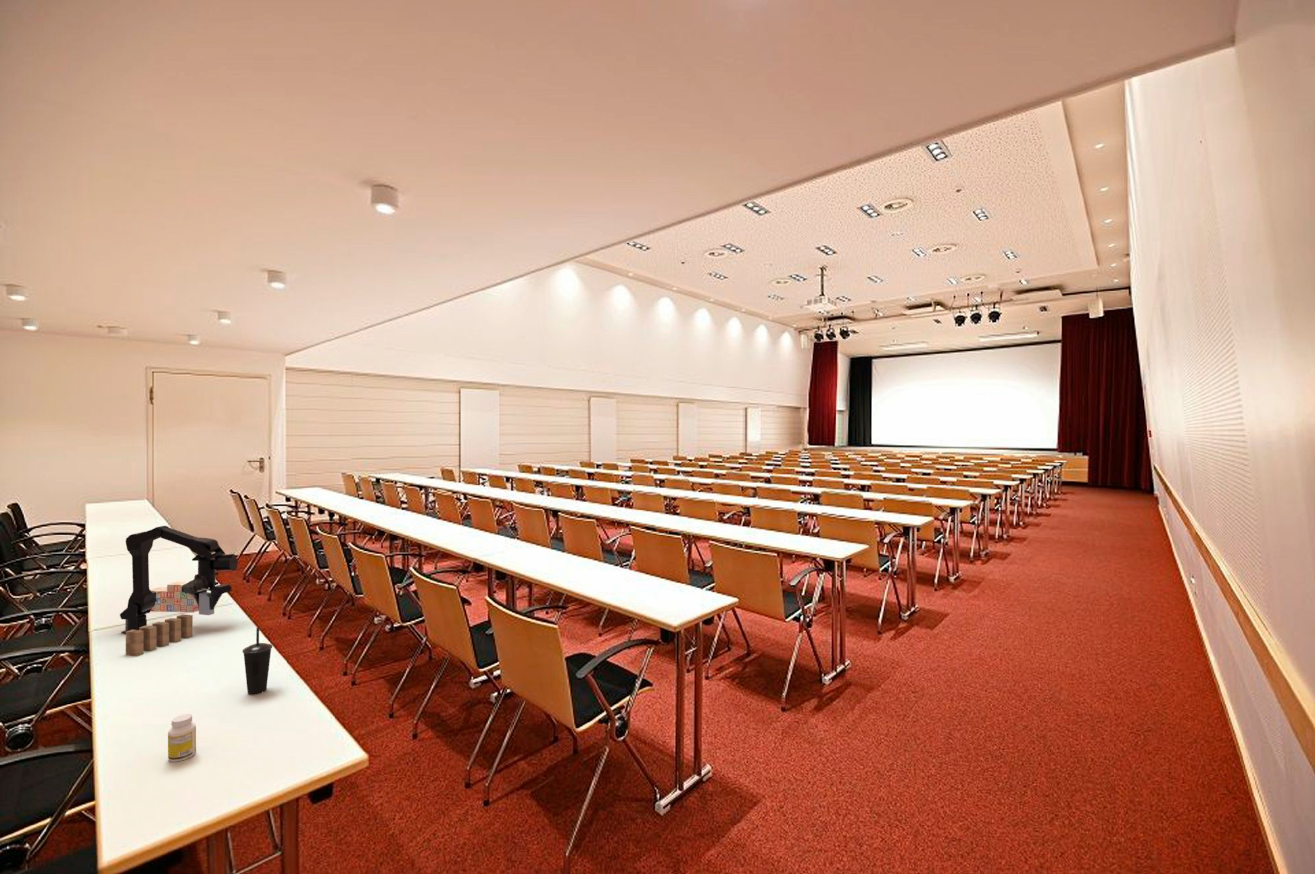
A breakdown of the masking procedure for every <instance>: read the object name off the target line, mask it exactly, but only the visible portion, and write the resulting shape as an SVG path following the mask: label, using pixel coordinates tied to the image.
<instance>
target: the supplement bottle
mask: <svg viewBox="0 0 1315 874" xmlns="http://www.w3.org/2000/svg"><path fill="white" fill-rule="evenodd" d="M170 725H171V727H170V728H169V729H168V731H167V751H168V752H167V759H168V761H169V762H173V763H176V762H181V761H185V760H187V759H190V758H191V757H193V756H194V755H195V754H196V753H197V726H196V724H195V723H194V722H193V715H192V713H184V714H180V715H177V716H175V717H173V718H172V719H171V724H170Z"/></svg>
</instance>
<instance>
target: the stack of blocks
mask: <svg viewBox="0 0 1315 874" xmlns="http://www.w3.org/2000/svg"><path fill="white" fill-rule="evenodd" d="M190 581H191V580H190ZM190 581H186V580H183V581H182V580H178V581H176V582H175V581H174V582H172V583H168V584H167V585H166V587H164V586H163V587H162V586H161V587H155V588H153V589H150V590H151V592H152V593H154V592H156V600H157V602H155V606H154V607H153V608H152V609H151V611H150V612H166V613H167V612H168V613H169V612H171V613H177V612H178V613H195V612H199V606H198V604H197V602H196V600H195V598H194V596H192V595H190V594H188V593H187V594H185V593H184V592H181V587H182V586H183V585H184V584H186V583H188V582H190Z"/></svg>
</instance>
